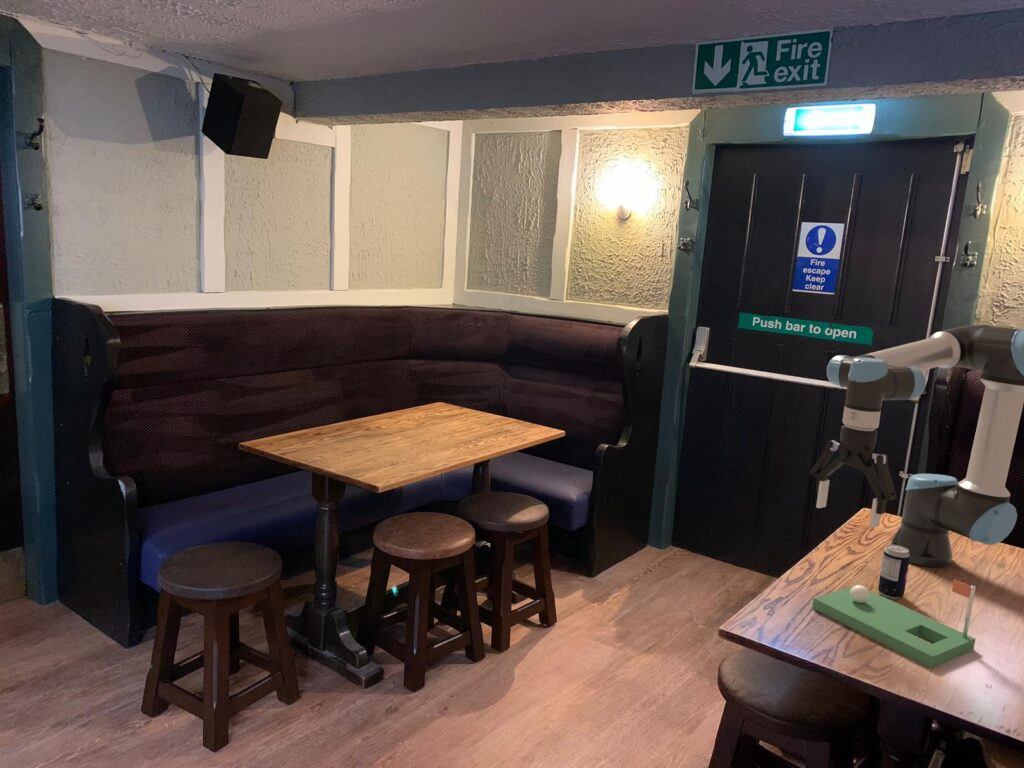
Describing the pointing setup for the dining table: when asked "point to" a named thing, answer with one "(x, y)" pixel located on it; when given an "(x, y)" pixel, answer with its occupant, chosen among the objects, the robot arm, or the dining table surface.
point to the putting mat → (896, 626)
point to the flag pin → (969, 593)
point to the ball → (859, 594)
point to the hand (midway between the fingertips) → (846, 516)
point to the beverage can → (894, 571)
